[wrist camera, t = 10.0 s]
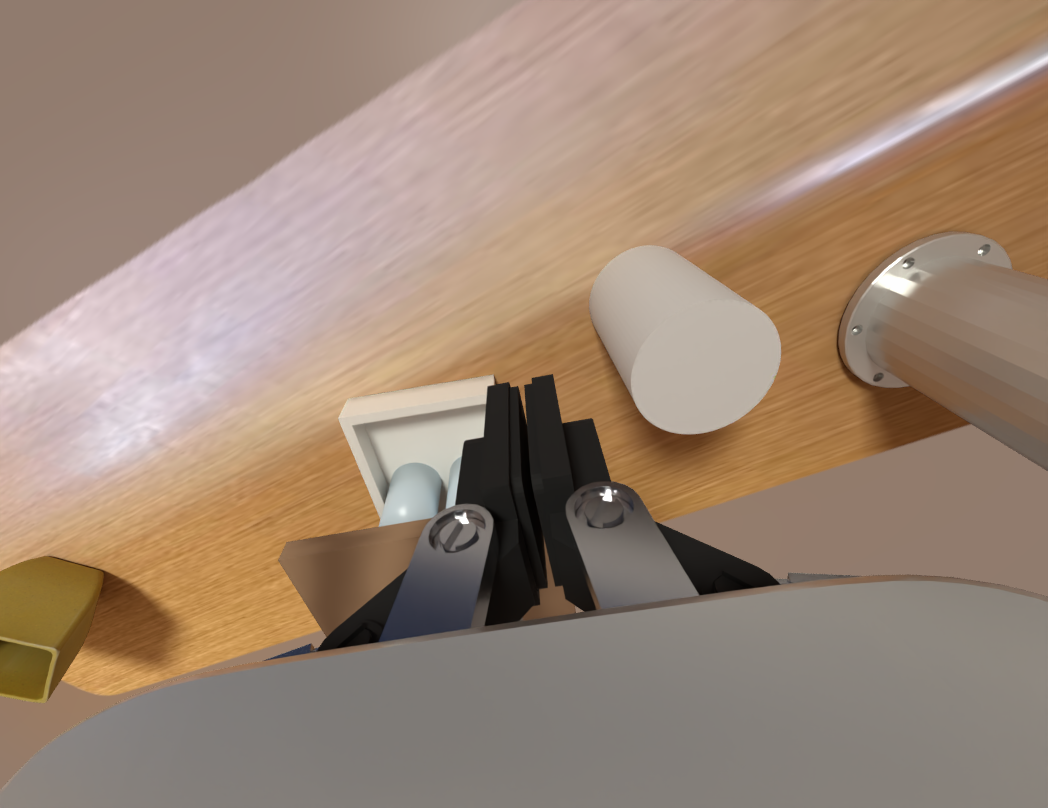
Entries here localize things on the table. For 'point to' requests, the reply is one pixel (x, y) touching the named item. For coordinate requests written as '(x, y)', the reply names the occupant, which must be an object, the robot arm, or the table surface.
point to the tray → (414, 430)
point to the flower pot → (43, 623)
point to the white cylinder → (682, 340)
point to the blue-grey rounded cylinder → (412, 494)
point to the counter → (372, 571)
